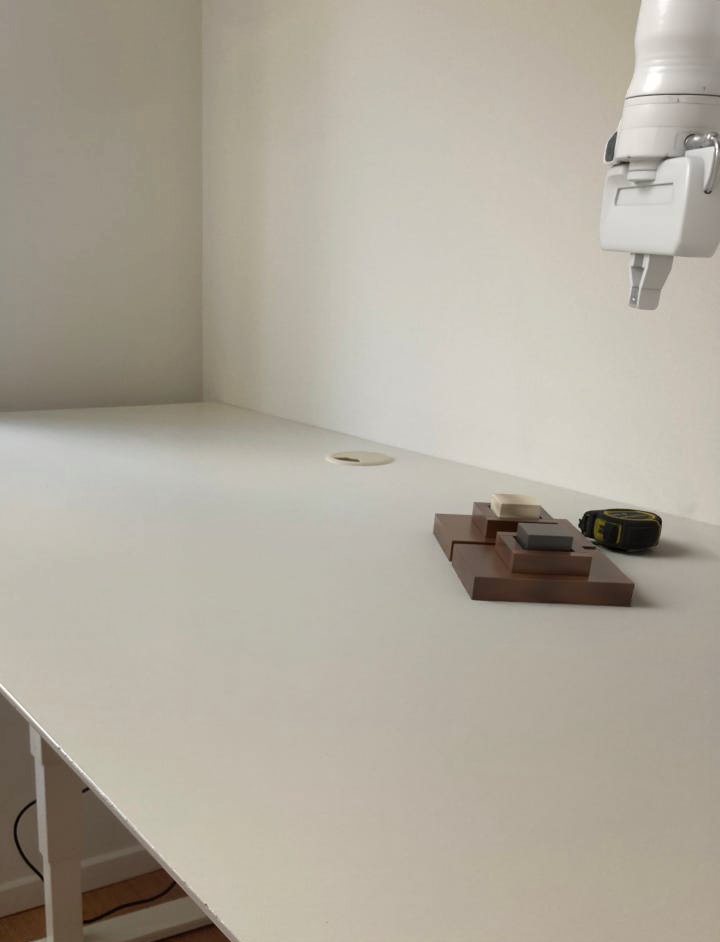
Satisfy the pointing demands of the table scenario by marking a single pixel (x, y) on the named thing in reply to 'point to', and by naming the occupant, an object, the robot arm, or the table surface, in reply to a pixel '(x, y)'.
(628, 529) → the tape measure
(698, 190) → the robot arm
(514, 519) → the key block far
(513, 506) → the ivory key
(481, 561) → the key block near
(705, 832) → the table surface
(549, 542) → the black key
